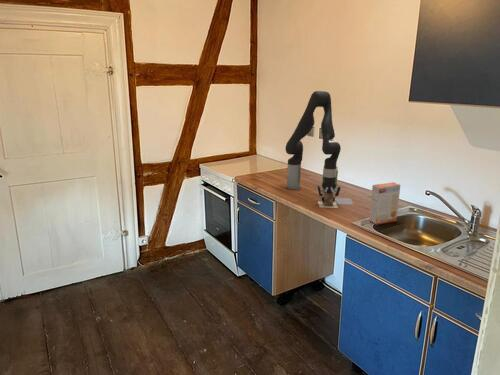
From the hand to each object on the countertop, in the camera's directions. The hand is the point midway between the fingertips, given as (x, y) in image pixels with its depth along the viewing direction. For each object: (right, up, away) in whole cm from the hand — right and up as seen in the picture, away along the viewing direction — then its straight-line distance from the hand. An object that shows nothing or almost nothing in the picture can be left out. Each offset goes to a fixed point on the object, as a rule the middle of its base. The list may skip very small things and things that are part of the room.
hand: (327, 202), depth 230 cm
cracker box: (+24, -10, -26) cm, 37 cm away
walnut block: (0, -1, 0) cm, 1 cm away
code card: (0, -1, 0) cm, 2 cm away
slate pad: (+11, 0, +6) cm, 13 cm away
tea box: (+8, +8, +35) cm, 37 cm away
